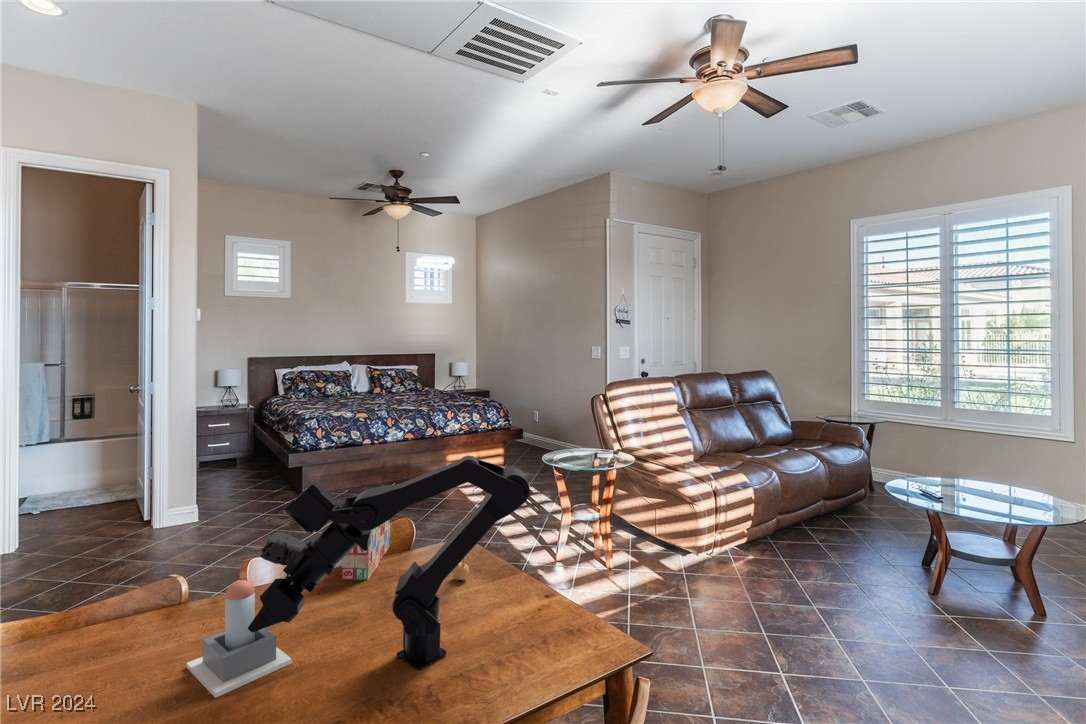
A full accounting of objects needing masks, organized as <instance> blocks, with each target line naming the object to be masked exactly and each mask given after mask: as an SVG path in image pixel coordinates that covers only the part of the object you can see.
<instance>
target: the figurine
mask: <svg viewBox="0 0 1086 724" xmlns="http://www.w3.org/2000/svg"><path fill="white" fill-rule="evenodd" d="M473 549H475V550H476V552H479V547H477V546H476V545H475V546H474V547H473ZM466 559H467V558H466V556H465V557H464V558H463V559H462V562H460V563H459V564H458V565H457V566H456V567H455V568H454V569H453V571H452V572H451V573H452V577H453V578H454V579H455V580H456V581H458V580H462V581H465V580H466V579H467V578H468V576H469V575H470V568H469V566H468V565H467V564H466V563H465V560H466Z"/></svg>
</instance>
